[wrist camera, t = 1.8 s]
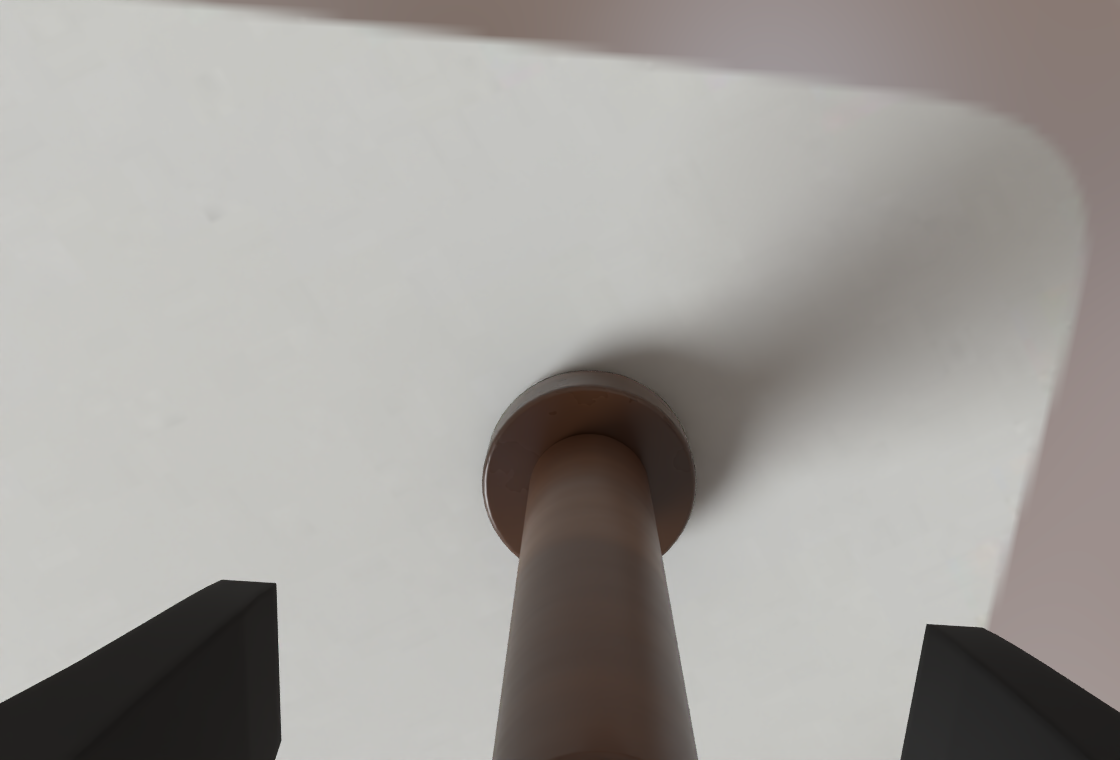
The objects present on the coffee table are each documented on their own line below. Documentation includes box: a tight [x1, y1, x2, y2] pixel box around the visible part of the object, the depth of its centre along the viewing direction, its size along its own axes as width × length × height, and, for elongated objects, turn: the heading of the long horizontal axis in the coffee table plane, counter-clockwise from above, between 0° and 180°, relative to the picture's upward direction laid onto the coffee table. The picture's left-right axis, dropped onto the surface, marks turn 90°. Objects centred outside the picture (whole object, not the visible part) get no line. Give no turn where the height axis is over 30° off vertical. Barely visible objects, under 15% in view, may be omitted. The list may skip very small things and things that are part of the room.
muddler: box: [482, 371, 698, 760], centre depth 12 cm, size 4×4×9 cm
